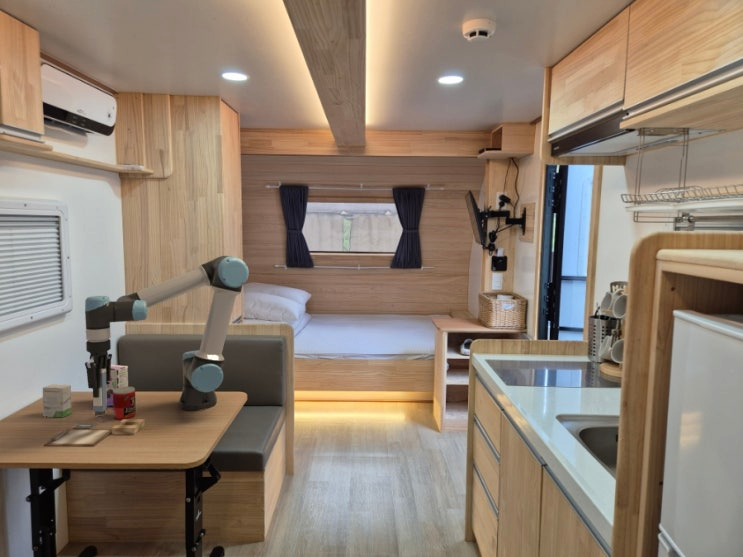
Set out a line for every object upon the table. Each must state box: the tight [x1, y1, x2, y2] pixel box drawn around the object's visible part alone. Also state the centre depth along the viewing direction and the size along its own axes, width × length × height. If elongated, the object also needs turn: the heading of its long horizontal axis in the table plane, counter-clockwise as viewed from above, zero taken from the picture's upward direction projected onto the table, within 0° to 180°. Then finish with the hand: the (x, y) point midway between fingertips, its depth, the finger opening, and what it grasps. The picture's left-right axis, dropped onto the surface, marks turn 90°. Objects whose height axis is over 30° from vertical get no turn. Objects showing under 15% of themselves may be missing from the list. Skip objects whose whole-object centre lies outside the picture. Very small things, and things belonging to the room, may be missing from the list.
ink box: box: [42, 383, 72, 418], centre depth 187 cm, size 9×5×12 cm, turn 84°
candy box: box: [95, 363, 129, 408], centre depth 200 cm, size 14×6×16 cm, turn 73°
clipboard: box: [43, 428, 112, 447], centre depth 167 cm, size 17×13×1 cm
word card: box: [72, 423, 96, 429], centre depth 177 cm, size 6×4×1 cm, turn 91°
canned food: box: [113, 386, 137, 421], centre depth 186 cm, size 8×8×11 cm
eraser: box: [92, 369, 108, 416], centre depth 169 cm, size 3×2×16 cm
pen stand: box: [111, 418, 146, 436], centre depth 174 cm, size 8×8×2 cm
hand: (100, 404), depth 170 cm, fingers closed on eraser, 2 cm apart
